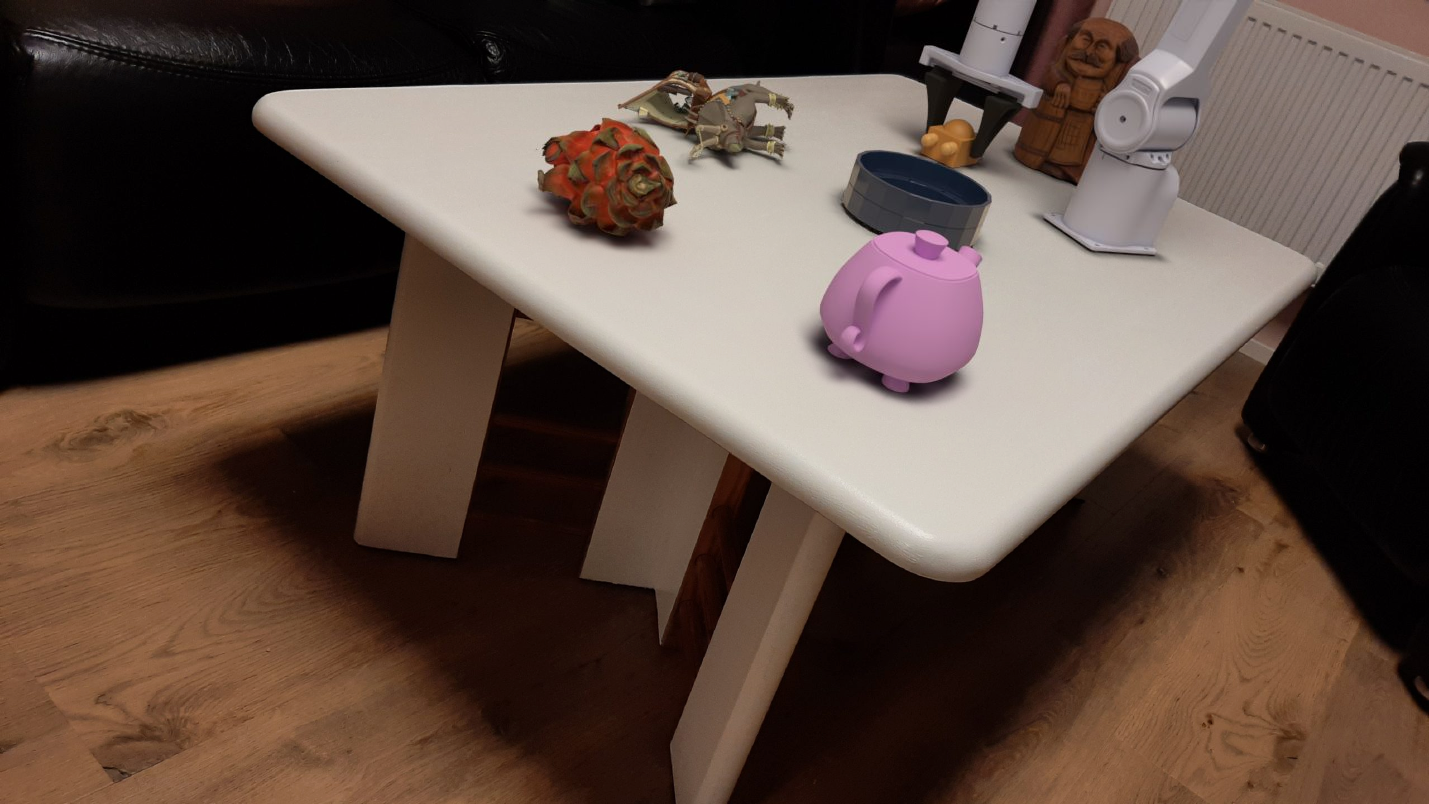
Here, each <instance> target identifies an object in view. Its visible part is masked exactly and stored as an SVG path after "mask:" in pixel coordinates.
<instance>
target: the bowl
mask: <svg viewBox="0 0 1429 804" xmlns="http://www.w3.org/2000/svg"><path fill="white" fill-rule="evenodd" d="M992 198H993V197H992V194H991V193H990V192H989V191H988V189H987V188H986V187H985V186H983V185H982V184H980V183H979V182H978V181H976V180H975V179H973V178H972V177H970V176H968V175H966V174H963V173H962V172H960V171H959V170H956V169H954V168H951V167H949V166H947V165H945V164H942V163H940V162H937V161H934V160H930V159H927V158H923V157H920V156H918V155H912V154H908V153H905V152H900V151H893V150H884V149H872V150H864V151H861V152H858V153H857V155H856V158H855V160H854V163H853V167H852V170H851V172H850V176H849V178H848V181H847V185H846V188H845V190H844V194H843V197H842V199H841V200H842V203H843V205H844V207H845V209H846V211H848V212H849V213H850V214H851V215H853V216H854V217H855V218H856V219H858V220H859V221H860V222H862V223H864V224H865V225H867V226H869V227H871V228H872V229H874V230H877V231H879V232H881V233H882V234H885V233H889V232H908V233H912V234H916V231H918V230H928V231H932V232H935V233H938V234H940V235H941V236H943V237H944V238H946V239H947V240H948V242H949V243H948V245H947V247H949V248H951V249H952V250H954V251H959V250H960V248H961V247H962V246H968V247H970V248H971V247H972V246H973V245H975V244H976V243H977V241H978V240H977V239H978V237H979V236H980V235H979V234H980V232H981V230H982V228H983V225H984V223H985V220H986V219H987V215H988V213H989V211H990V207H991V206H992V203H993V199H992Z"/></svg>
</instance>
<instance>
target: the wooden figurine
mask: <svg viewBox="0 0 1429 804" xmlns="http://www.w3.org/2000/svg"><path fill="white" fill-rule="evenodd" d="M1053 48H1054V49H1053V51H1052V53H1051V55H1050V59H1049V61H1048V64H1047V67H1046V68H1045V70H1044V72H1043V74H1042V78H1041V84H1040V85H1039V86H1038V88H1039V89H1041V90H1043V94H1042V96H1041V98H1040V101H1039V103H1038V106H1037V107H1036V108H1028V111H1027V113H1026V116H1025V118H1024V120H1023V124H1022V126H1021V129H1020V131H1019V135H1018V137H1017V141H1016V143H1015V146H1014V149H1013V155H1014V157H1015V158H1016V159H1017V160H1018V161H1019V162H1020V163H1021V164H1023V165H1025V166H1027V167H1028V168H1031V169H1032V170H1039V171H1041V172H1043V173H1045V174H1047V175H1051V176H1054V177H1056V178H1058V179H1060V180H1068V181H1071V182H1073V183H1075V184H1077V185H1078V183H1079V181H1080V178H1081V176H1082V174H1083V172H1084V169H1085V167H1086V165H1087V163H1088V160H1089V158H1090V156H1091V154H1092V152H1093V149H1094V147H1095V146H1094V145H1095V143H1096V141H1097V139H1098V138H1097V136H1096V133H1095V128H1094V120H1095V114H1096V111H1097V108H1098V106H1099V104H1100V102H1101V101H1102V99H1103V98H1104V97H1105V96H1106V95H1107V94H1108V93H1109V92H1111V91H1112V90H1113V89H1115V88H1116V87H1117V86H1118V85H1120V83H1121V82H1122V81H1123V80H1124V78H1125V77H1126V75H1127V73H1128V71H1129V70H1130V68H1131V67H1133V66H1134V65H1135V64H1137V63H1138V62H1139V61H1140V60H1142V59H1143V58H1141V57H1140V56H1139V55H1140V49H1139V44H1138V42H1137V39H1136V37H1135V35H1134V34H1133V32H1132V31H1131V30H1130V29H1129V28H1128V27H1127V26H1126V25H1124V24H1123V23H1121V22H1119V21H1116V20H1113V19H1111V18H1108V17H1103V16H1102V17H1100V16H1099V17H1097V16H1096V17H1089V18H1085V19H1082V20H1081V21H1078V22H1075V24H1073V25H1072V26H1071V27H1070V28H1069V30H1068V31H1067V34H1066V35H1064V36H1061V38H1059V40H1058V41H1057V42H1056V44H1055V46H1054V47H1053Z"/></svg>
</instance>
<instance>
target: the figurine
mask: <svg viewBox="0 0 1429 804" xmlns="http://www.w3.org/2000/svg"><path fill="white" fill-rule="evenodd" d="M707 81H708V79H706V78H705V76H704V75H702V74H700V73H698V72H692V71H691V72H688V71H684V70H681V69H678V70H674V71H672V72H671V73H669V75H667V76H666V78H664V79H662V80H661V81H659V82H658V83H656V84H655V85H653V86H652V87H650V88H649V89H647V90H646V91H644V92H641V93H640V94H637V95H636V96H634V97H632V98H631V99H629V100H627V101H625V102H623V103H618V104H617V108H618V110H620V109H625V110H630V111H632V112H636V113H637V116H638V117H641V116H642V117H643V116H646V117H649V118H651V119H653V120H654V121H657V122H658V123H660V124H663V125H665V126H668V127H671V128H672V129H675V130H677V131H680V130H682V129H683V130H686V132H685V134H684V135H683V138H686V136H687V135H688V133H689V132H690V130H691V129H693V128H694V132H695V135H696V136H697V138H696V140H695V141H696V142H698V141H700V143H698V144H696V145H694V146H693V147H692V149H691V151H690V152H689V160H692V159H695V158H699V156H700V155H702V154H701V153H702V152H703V149H704V148H706V147H707V148H708V149H710V150H711V151H712V150H714V151H720V150H722V149H723V150H725V151H726V152H728V153H731V154H734V155H737V154H738V152H742V150H744V148H748V149H750V150H753V151H757V152H758V151H759V152H760V151H762V152H763V151H764V152H767V154H769V155H770V156H771V155H772V154H773V155H775V154H776V155H777V156H779V158H780V159H782V160H783V159H784V155H785V151H786V148H785V147H786V145H787V143H786V142H784V140H783V139H784V138H785V134H786V131H785V130H786V128H787V126H786V125H781V126H779V125H778V126H777V125H776V126H775V125H774V124H771V123H770V122H768V124H764V125H755V122H756V118H757V113H758V110H757V105H756V104H766V105H767V107H770V108H772V107H774V109H776V110H777V111H779V109H780V111H782V110H784V112H785V113H786V114H787V119H788V120H789V121H791V120H792V116H793V114H794V109H795V105H794V103H792V102H791V101H789V100H790V99H791V97H789V96H786V95H783V93H780V92H777V93H775V92H774V91H771V90H770V89H768V88H766V87H764V86H761V80H757V81H756V84H754V83H749V82H748V83H744V84H737V85H731V86H728V87H725V88H723V89H721V90H719V91H718V92H716V93H714V94H713V91H712V89H711V87H710V86H709V83H708V82H707ZM670 94H671V95H673V96H676V97H677V96H678V94H679V95H683V96H686V97H684V101H685V102H684V103H683V105H680V103H679V102H675V103H674V101H673V100H672V98H671V97H670ZM756 137H764V138H765V139H768V138H770V139H772V138H775V139H777V140H780V142H781V143H780V142H779V143H778V142H777V141H776V140H769V141H768V142H764V141H759V140H754V139H752V138H756ZM782 142H783V143H782ZM698 152H699V153H698ZM695 153H698V155H695Z"/></svg>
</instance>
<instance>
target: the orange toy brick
mask: <svg viewBox="0 0 1429 804" xmlns="http://www.w3.org/2000/svg"><path fill="white" fill-rule="evenodd" d="M976 135H977V132H975V129H974V127H973V126H972V124H971V123H970V122H969V121H968V120H966V119H963V118H954V119H951V120H948V121H947V122H945V123H944V125H939V126H930V128H929V131H928V134H924V135H922V137H921V139H920V142H921V144H922V147H921V151H920V154H922V155H923V156H925V157H927V158H930V159H932V160H933V161H935V162H937V163H939V164H942V165H944V166H946V167H949V168H951V169H954V168H960V167H965V166H970V165H976V164H978V162H979V159H980V158H977V159H973V158H971V157H969V154H970V150H971V147H972V145H973V142H974V140H975V137H976Z"/></svg>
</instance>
